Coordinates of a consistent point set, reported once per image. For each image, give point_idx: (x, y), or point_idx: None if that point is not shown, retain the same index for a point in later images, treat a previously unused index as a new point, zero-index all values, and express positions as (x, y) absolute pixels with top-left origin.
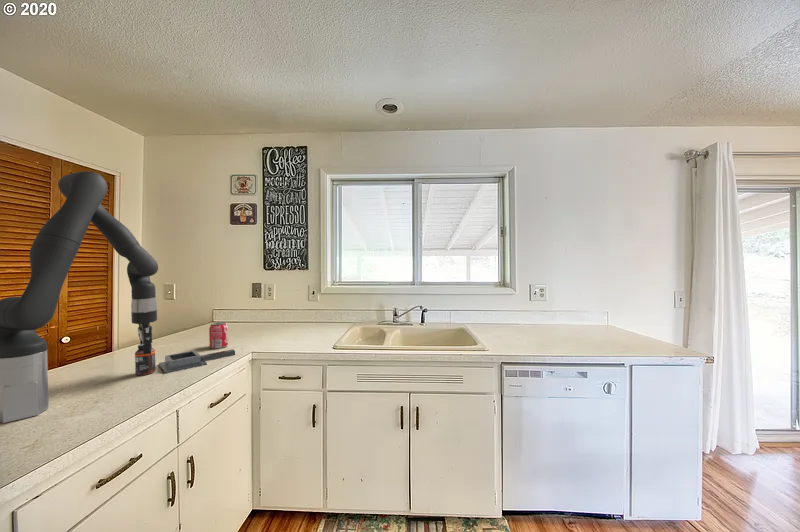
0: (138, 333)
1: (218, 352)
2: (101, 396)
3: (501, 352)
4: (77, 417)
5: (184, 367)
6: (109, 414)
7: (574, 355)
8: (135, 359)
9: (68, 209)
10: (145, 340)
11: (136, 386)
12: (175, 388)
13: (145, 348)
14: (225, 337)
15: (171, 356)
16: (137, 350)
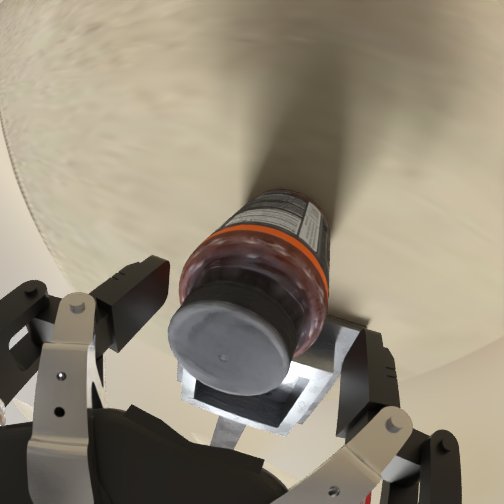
0: (328, 491)
1: (232, 438)
2: (122, 33)
3: (32, 409)
4: (50, 13)
5: None
6: (20, 69)
7: (17, 399)
8: (265, 215)
9: None
10: (343, 419)
11: (121, 136)
12: (43, 211)
13: (105, 284)
14: None
15: (306, 380)
16: (255, 268)
